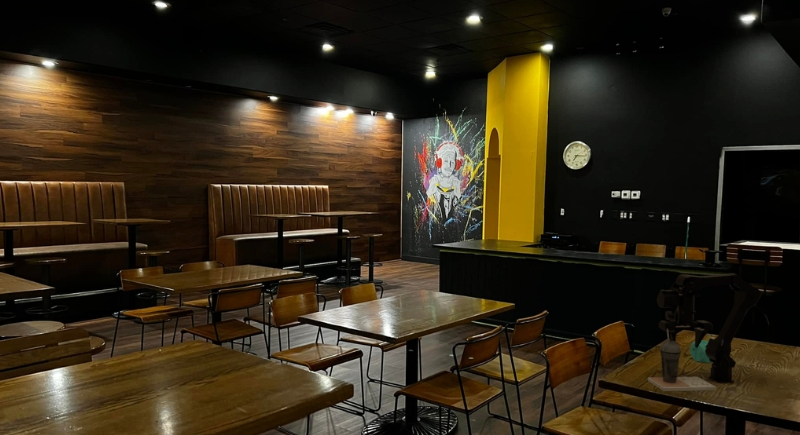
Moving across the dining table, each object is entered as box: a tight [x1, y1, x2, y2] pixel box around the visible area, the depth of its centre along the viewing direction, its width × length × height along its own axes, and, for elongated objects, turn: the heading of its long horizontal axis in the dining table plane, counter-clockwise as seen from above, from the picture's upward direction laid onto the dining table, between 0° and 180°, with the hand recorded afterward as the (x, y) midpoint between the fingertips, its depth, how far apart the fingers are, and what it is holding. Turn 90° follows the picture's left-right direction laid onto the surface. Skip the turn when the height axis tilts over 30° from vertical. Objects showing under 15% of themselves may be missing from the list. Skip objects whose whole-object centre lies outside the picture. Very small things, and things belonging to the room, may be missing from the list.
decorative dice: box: [689, 339, 713, 364], centre depth 253 cm, size 8×8×8 cm
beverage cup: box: [659, 329, 682, 383], centre depth 219 cm, size 7×7×20 cm
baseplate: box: [647, 376, 717, 392], centre depth 220 cm, size 20×12×2 cm, turn 93°
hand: (684, 347), depth 224 cm, fingers open, 9 cm apart
